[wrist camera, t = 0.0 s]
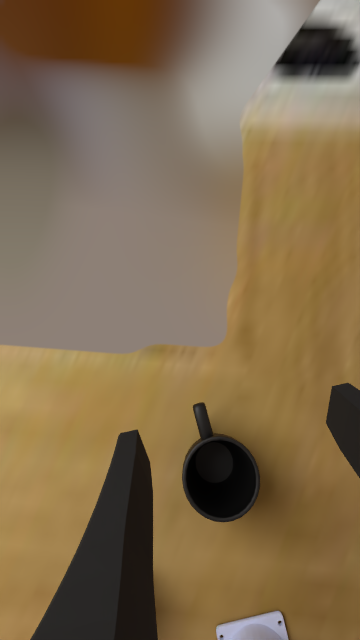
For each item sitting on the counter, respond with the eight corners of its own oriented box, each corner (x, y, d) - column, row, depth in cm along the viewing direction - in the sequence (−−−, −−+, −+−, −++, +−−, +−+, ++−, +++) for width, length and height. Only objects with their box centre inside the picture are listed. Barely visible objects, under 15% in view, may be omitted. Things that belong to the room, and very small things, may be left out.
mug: (225, 396, 42) (235, 393, 33) (252, 486, 39) (271, 510, 30) (171, 411, 42) (165, 411, 33) (192, 503, 38) (193, 533, 29)
